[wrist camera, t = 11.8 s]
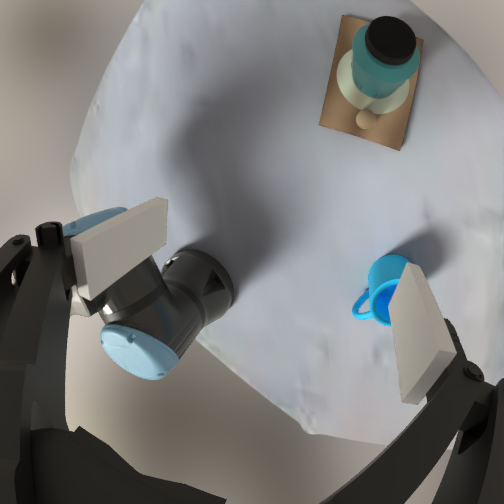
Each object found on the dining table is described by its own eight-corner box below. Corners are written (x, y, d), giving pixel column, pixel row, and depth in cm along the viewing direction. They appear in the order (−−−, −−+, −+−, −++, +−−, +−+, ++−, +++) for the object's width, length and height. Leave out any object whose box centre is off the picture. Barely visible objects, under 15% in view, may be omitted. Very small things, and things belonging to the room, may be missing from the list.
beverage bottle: (393, 106, 33) (433, 86, 15) (347, 95, 34) (346, 63, 17) (398, 64, 30) (436, 15, 12) (352, 53, 31) (352, -7, 14)
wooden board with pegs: (319, 125, 39) (313, 124, 32) (342, 18, 30) (340, -1, 24) (398, 150, 36) (407, 154, 30) (420, 42, 28) (433, 27, 21)
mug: (399, 244, 42) (407, 267, 35) (422, 282, 43) (431, 309, 36) (340, 282, 48) (336, 310, 41) (365, 315, 49) (364, 345, 42)
